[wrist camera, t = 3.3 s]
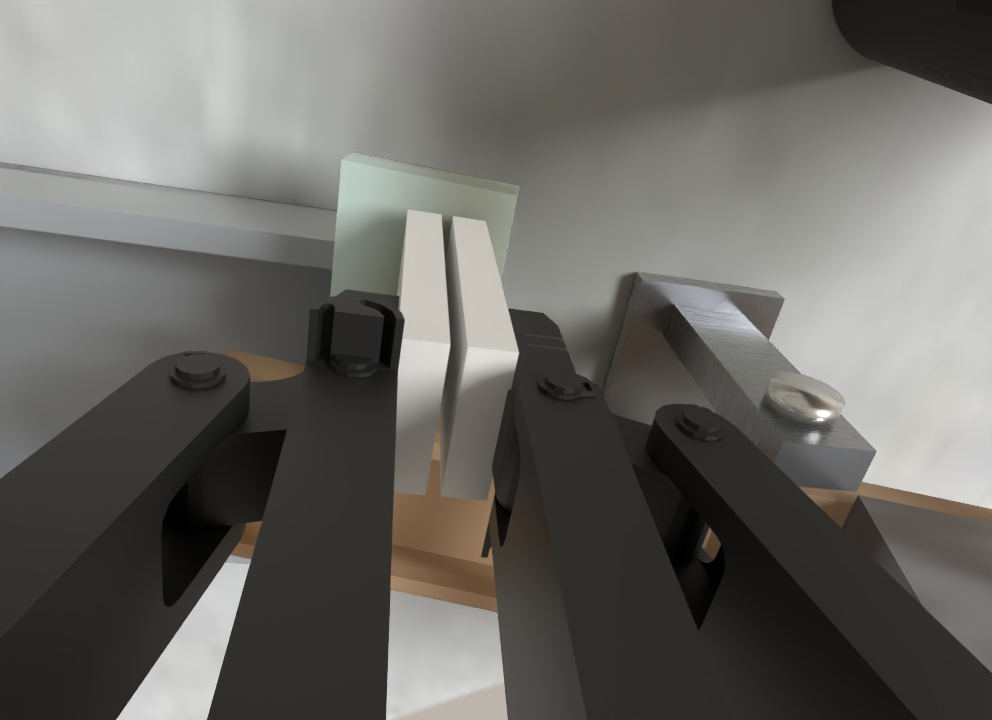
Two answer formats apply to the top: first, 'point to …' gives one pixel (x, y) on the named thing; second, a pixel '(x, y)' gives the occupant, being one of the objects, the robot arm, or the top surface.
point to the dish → (139, 288)
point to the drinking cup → (925, 39)
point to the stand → (732, 377)
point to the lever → (463, 522)
